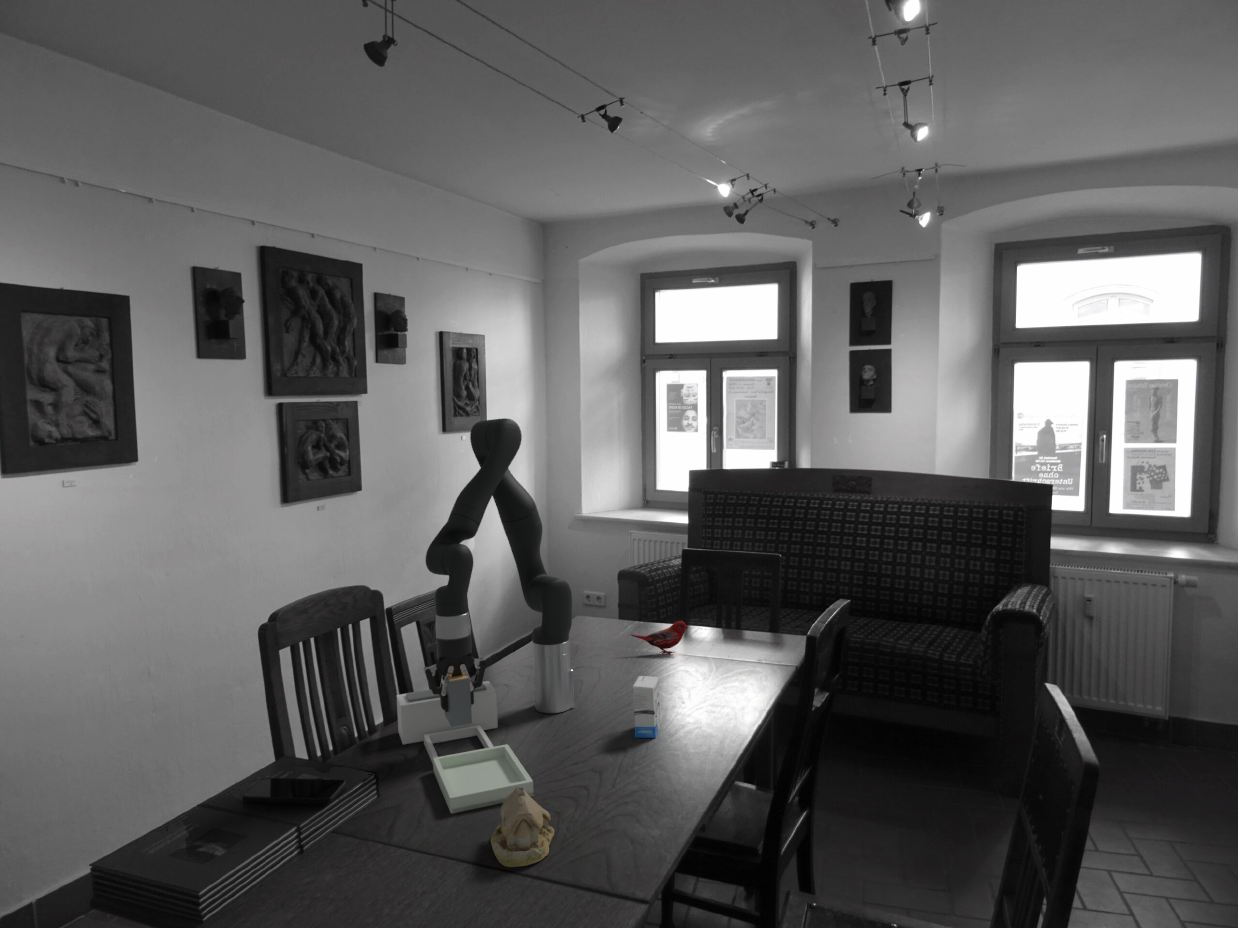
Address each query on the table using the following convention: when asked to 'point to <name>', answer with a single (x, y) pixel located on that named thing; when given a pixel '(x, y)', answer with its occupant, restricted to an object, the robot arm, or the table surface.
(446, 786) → the tray
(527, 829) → the ceramic model
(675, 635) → the decorative bird figurine
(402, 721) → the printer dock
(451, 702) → the block
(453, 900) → the table surface
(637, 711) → the ink box
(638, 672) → the table surface
